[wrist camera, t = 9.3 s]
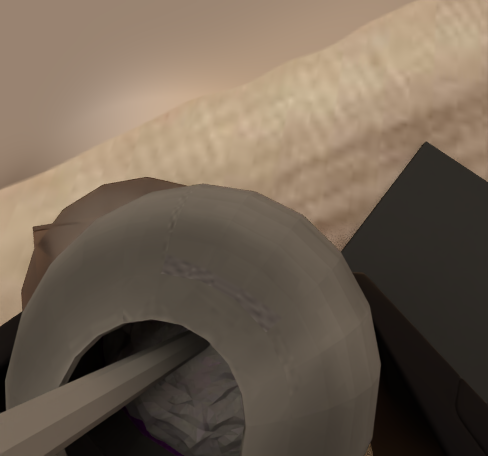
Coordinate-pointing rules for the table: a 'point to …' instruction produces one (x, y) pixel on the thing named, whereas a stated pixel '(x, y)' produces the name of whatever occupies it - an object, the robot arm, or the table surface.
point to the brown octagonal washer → (81, 223)
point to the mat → (433, 258)
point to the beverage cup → (194, 337)
